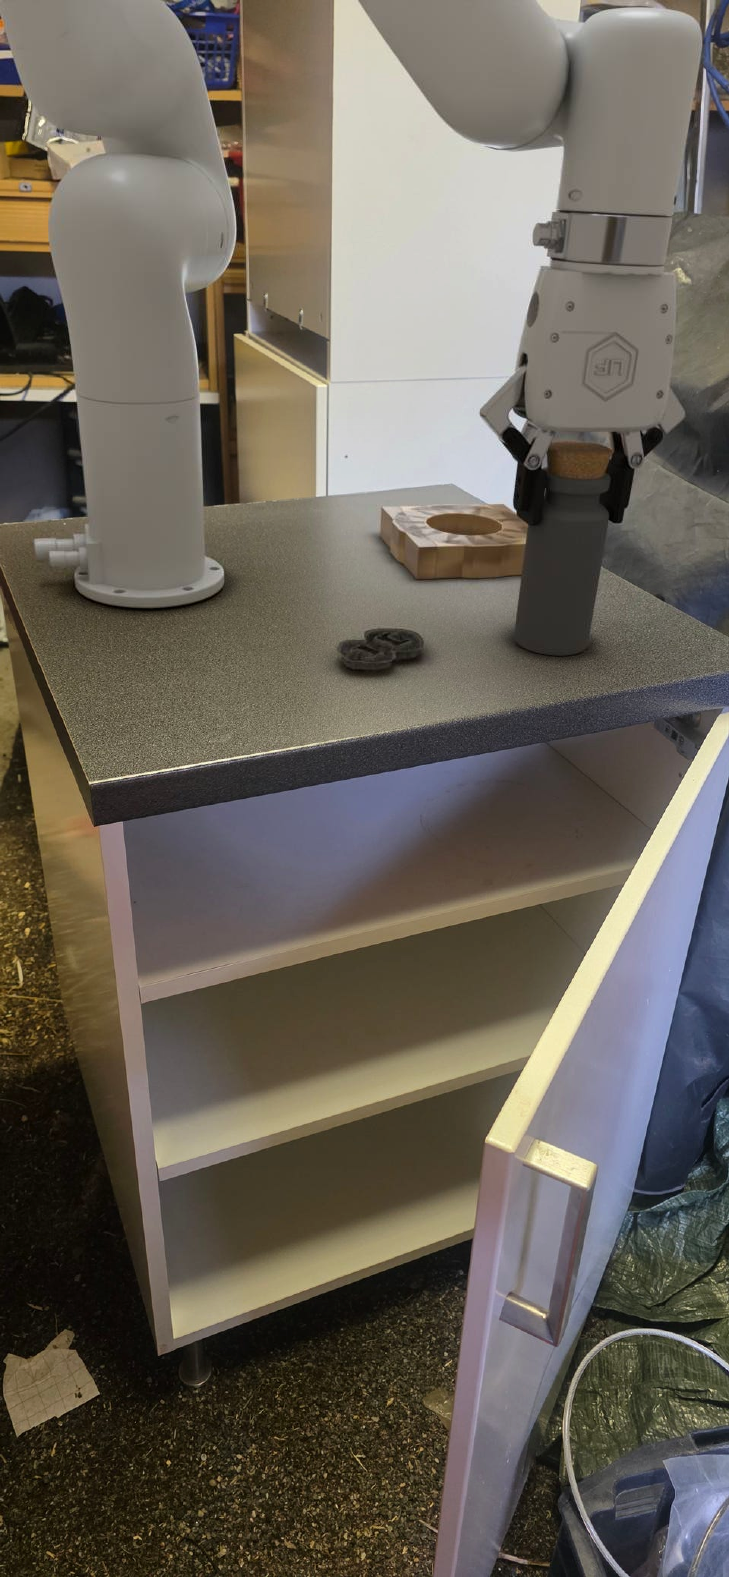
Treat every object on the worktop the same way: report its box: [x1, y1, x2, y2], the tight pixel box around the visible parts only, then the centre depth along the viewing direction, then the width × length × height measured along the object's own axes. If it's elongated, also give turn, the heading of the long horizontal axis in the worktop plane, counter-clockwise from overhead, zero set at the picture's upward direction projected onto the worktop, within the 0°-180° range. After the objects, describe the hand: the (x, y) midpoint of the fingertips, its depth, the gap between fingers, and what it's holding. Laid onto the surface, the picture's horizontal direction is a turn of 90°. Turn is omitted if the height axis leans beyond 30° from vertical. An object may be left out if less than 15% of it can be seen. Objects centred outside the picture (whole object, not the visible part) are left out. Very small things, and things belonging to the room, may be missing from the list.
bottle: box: [513, 440, 612, 657], centre depth 78 cm, size 6×6×15 cm
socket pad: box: [379, 503, 528, 580], centre depth 99 cm, size 14×14×3 cm
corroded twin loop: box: [336, 627, 425, 670], centre depth 77 cm, size 5×8×1 cm, turn 141°
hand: (568, 517), depth 76 cm, fingers closed on bottle, 5 cm apart
